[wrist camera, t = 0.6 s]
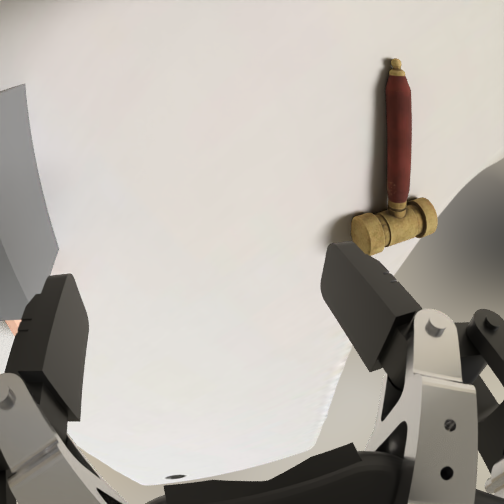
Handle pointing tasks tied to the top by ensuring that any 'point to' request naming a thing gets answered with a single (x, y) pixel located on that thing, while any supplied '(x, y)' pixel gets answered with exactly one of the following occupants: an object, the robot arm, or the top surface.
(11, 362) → the robot arm
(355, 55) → the top surface
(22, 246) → the dispenser
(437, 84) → the top surface
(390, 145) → the gavel
